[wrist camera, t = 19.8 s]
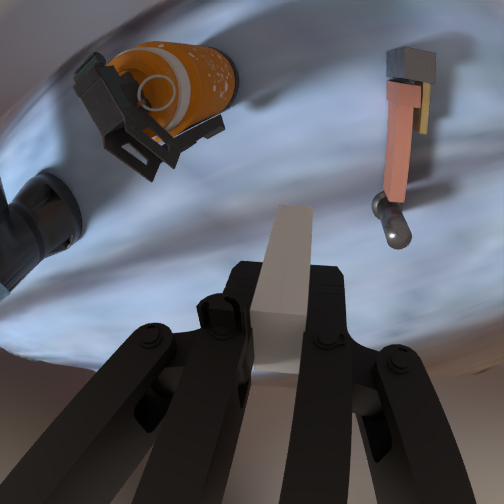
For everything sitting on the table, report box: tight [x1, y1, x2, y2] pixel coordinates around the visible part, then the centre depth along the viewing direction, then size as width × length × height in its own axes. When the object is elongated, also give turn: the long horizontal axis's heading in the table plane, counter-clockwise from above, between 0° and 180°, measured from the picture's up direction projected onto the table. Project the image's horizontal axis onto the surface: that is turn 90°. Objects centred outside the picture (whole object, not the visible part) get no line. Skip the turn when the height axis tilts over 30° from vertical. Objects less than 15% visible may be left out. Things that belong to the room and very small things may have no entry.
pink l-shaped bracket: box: [383, 81, 421, 203], centre depth 29 cm, size 2×13×6 cm, turn 4°
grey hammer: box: [386, 47, 436, 135], centre depth 25 cm, size 4×8×8 cm, turn 3°
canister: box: [73, 41, 239, 182], centre depth 25 cm, size 9×11×20 cm
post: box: [372, 191, 412, 249], centre depth 33 cm, size 4×4×8 cm
